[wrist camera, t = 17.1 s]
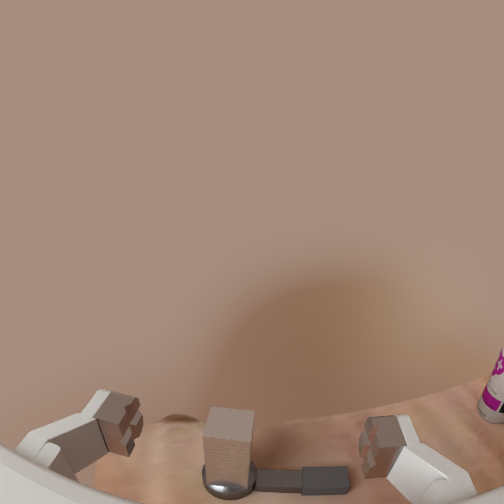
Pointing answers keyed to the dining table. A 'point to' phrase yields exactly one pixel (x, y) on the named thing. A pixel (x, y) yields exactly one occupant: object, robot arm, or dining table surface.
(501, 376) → the supplement can
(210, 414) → the tall grey pillar block
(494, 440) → the dining table surface
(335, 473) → the ratchet
